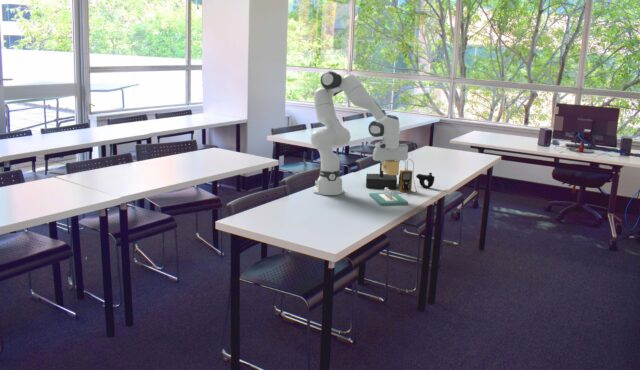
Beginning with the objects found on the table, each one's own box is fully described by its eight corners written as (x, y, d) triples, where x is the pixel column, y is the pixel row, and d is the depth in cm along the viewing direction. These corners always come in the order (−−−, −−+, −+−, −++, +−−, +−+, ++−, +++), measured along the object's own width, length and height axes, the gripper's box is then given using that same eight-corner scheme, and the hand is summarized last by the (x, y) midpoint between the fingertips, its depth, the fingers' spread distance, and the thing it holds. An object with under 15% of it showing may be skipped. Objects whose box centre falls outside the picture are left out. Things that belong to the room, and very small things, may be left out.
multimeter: (398, 195, 343) (400, 162, 338) (393, 191, 353) (394, 159, 348) (421, 194, 346) (423, 162, 341) (415, 190, 356) (417, 158, 351)
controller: (431, 189, 358) (432, 174, 355) (414, 186, 366) (415, 171, 363) (435, 188, 361) (436, 173, 358) (418, 185, 369) (419, 170, 366)
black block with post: (395, 183, 373) (397, 153, 369) (396, 189, 357) (398, 158, 352) (366, 182, 375) (367, 152, 370) (365, 188, 359) (367, 157, 354)
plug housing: (381, 170, 334) (381, 158, 333) (390, 170, 335) (391, 158, 334) (389, 175, 321) (389, 163, 320) (398, 174, 323) (399, 162, 321)
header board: (369, 195, 341) (369, 185, 340) (394, 194, 345) (395, 184, 343) (380, 205, 320) (381, 194, 319) (407, 204, 324) (408, 193, 322)
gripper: (406, 142, 330) (405, 166, 333) (372, 143, 325) (371, 167, 329) (410, 144, 324) (409, 168, 327) (375, 145, 319) (374, 169, 323)
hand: (389, 168), depth 328 cm, fingers closed on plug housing, 6 cm apart
